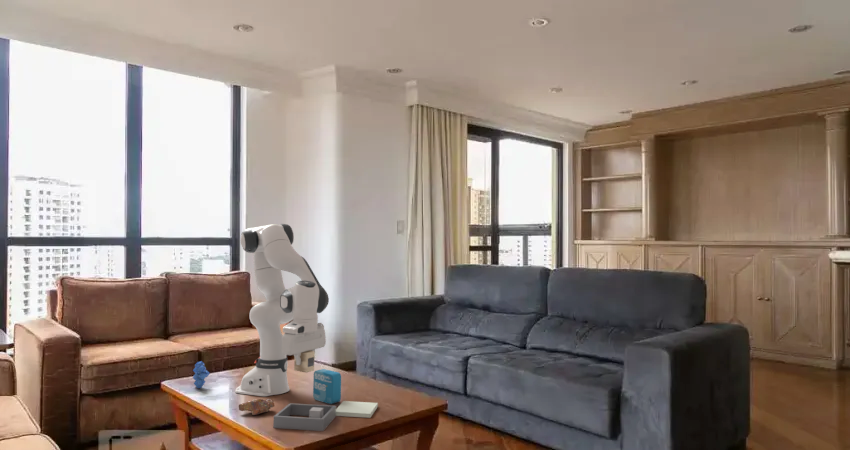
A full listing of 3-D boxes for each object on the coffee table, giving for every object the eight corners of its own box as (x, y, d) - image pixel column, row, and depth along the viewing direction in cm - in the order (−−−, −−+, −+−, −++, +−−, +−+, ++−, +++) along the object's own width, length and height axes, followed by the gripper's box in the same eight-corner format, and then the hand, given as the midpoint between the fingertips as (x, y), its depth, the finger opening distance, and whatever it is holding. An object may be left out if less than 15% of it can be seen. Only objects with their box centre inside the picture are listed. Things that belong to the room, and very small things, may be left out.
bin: (273, 427, 204) (273, 416, 204) (289, 413, 220) (289, 403, 220) (323, 431, 202) (323, 419, 202) (335, 416, 218) (335, 405, 218)
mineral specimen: (249, 415, 213) (244, 397, 215) (240, 421, 217) (235, 404, 220) (278, 408, 221) (273, 391, 224) (269, 414, 226) (264, 397, 228)
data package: (312, 399, 240) (313, 370, 240) (321, 396, 243) (321, 368, 244) (332, 405, 232) (333, 374, 232) (340, 402, 236) (341, 372, 236)
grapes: (213, 390, 250) (214, 362, 250) (197, 392, 246) (198, 363, 246) (205, 384, 260) (206, 357, 260) (189, 386, 256) (190, 358, 256)
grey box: (309, 424, 209) (309, 410, 209) (312, 420, 213) (312, 407, 213) (319, 425, 208) (320, 411, 208) (323, 421, 212) (323, 407, 212)
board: (333, 415, 219) (333, 411, 219) (343, 404, 233) (343, 400, 233) (370, 417, 217) (370, 413, 217) (377, 406, 231) (377, 402, 231)
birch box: (294, 370, 213) (294, 351, 213) (301, 368, 217) (302, 349, 217) (307, 372, 210) (307, 353, 210) (314, 370, 214) (314, 351, 214)
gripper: (317, 321, 224) (316, 357, 224) (279, 328, 207) (278, 367, 206) (330, 322, 221) (329, 359, 221) (292, 330, 203) (291, 369, 203)
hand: (304, 363), depth 214 cm, fingers closed on birch box, 4 cm apart
